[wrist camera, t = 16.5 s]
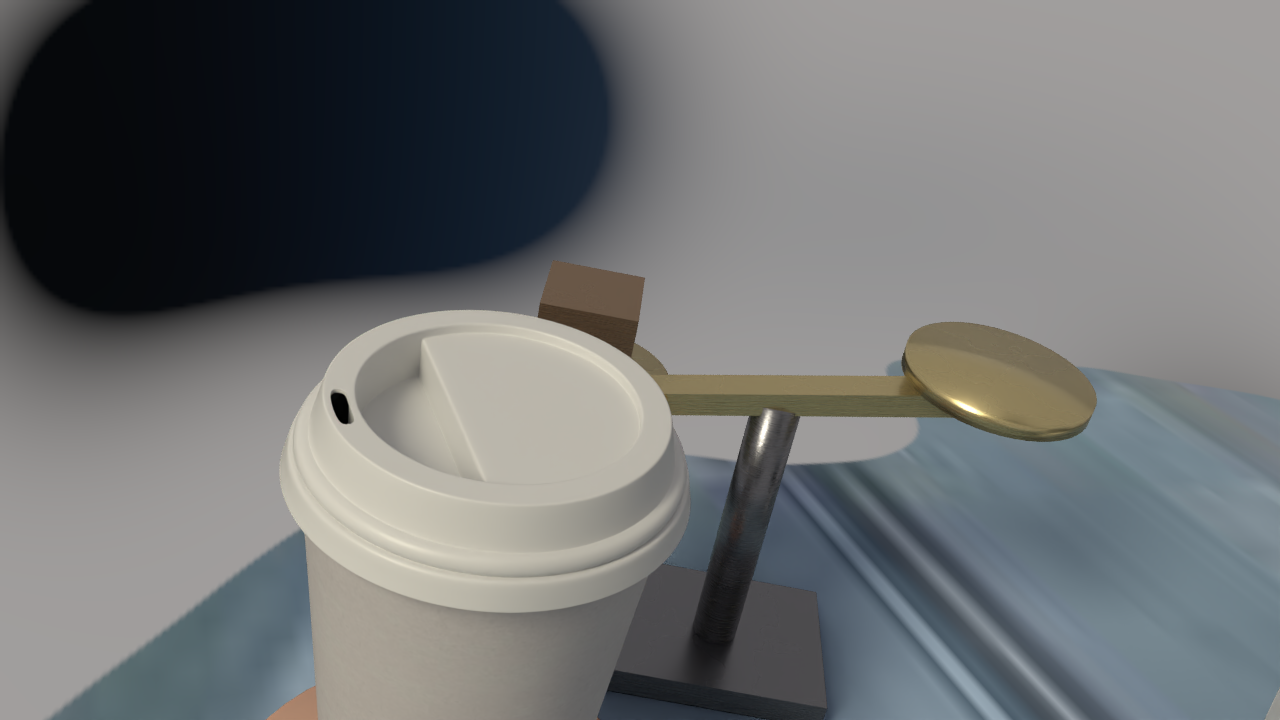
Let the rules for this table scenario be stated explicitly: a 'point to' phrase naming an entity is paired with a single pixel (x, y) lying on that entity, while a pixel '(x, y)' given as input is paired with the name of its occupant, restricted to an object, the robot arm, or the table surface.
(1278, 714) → the shot glass
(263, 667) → the table surface
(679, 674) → the balance
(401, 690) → the coffee cup
